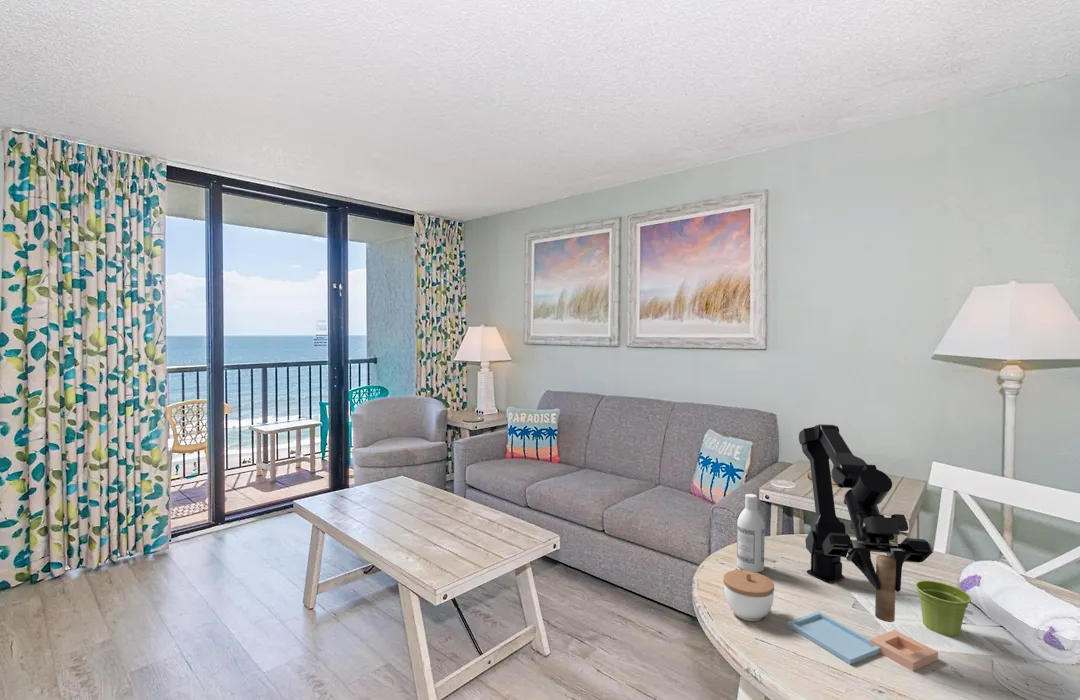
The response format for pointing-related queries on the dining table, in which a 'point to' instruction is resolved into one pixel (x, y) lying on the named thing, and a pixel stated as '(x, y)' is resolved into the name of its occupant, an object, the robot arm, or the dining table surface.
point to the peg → (885, 588)
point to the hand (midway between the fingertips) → (888, 590)
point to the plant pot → (942, 606)
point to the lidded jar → (748, 594)
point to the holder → (904, 650)
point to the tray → (834, 637)
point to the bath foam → (750, 537)
